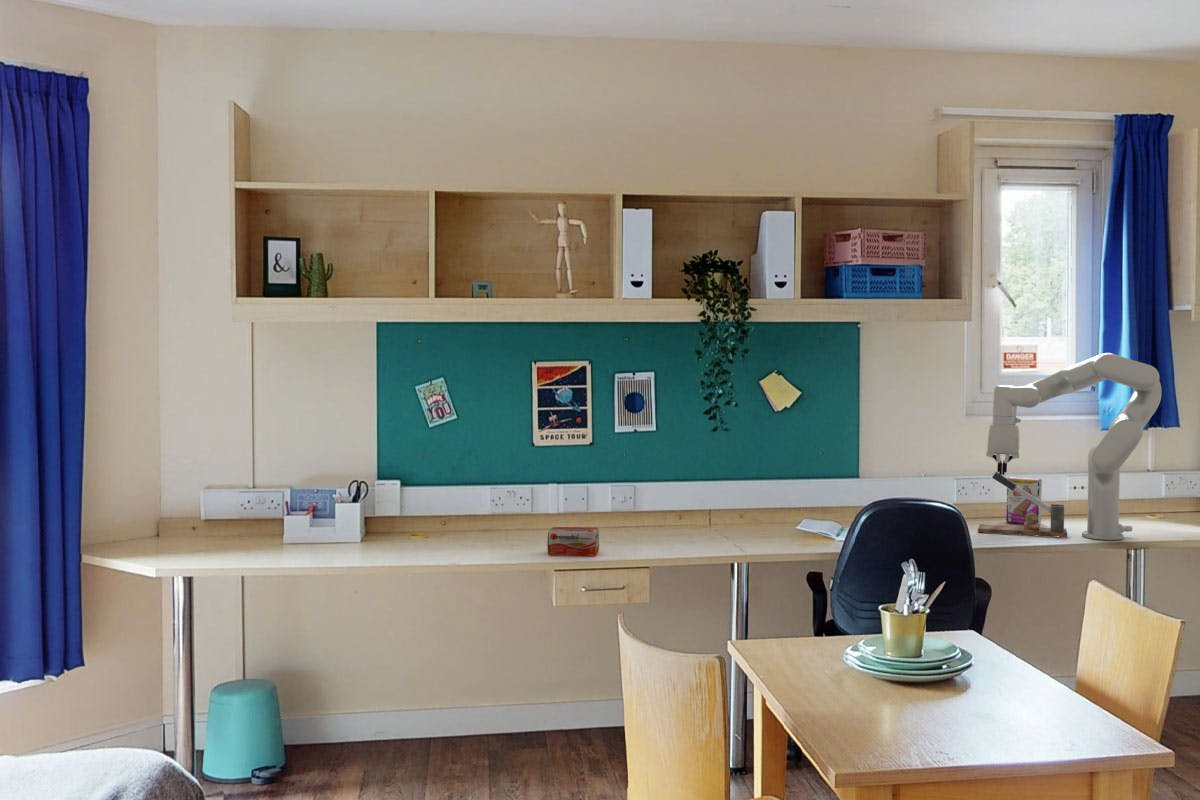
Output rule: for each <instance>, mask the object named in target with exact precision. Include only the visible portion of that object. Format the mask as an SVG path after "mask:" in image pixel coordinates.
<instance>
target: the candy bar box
mask: <svg viewBox="0 0 1200 800" xmlns="http://www.w3.org/2000/svg"><path fill="white" fill-rule="evenodd" d="M1007 479H1009V480H1011V481H1012V482H1014V483H1015V484H1017V486H1018V487H1020V488H1021V489H1023V490H1024V491H1026V492H1028V493H1029V494H1031V495H1032V496H1034V497H1036V498H1037V499H1039V500H1040V501H1042V488H1043V486H1042V485H1043V484H1042V483H1043V479H1042V478H1032V477H1031V478H1030V477H1018V476H1016V477H1015V476H1009V477H1007ZM1029 513H1035V514H1036V515H1037V516H1038V521H1037V523H1039V525H1040V524H1041V523H1042V508H1041V507H1040V506H1038V505H1037V504H1035V503H1033V502H1032V501H1030V500H1029V499H1027V498H1026V497H1024V496H1022V495H1021V494H1019V493H1018V492H1016V491H1014V490H1013V491H1012V490H1011V489H1009V488H1008V487H1006V517H1005V521H1006V523H1007V522H1010V524H1017V523H1022V525H1024V523H1025V522H1026V515H1027V514H1029Z"/></svg>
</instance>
